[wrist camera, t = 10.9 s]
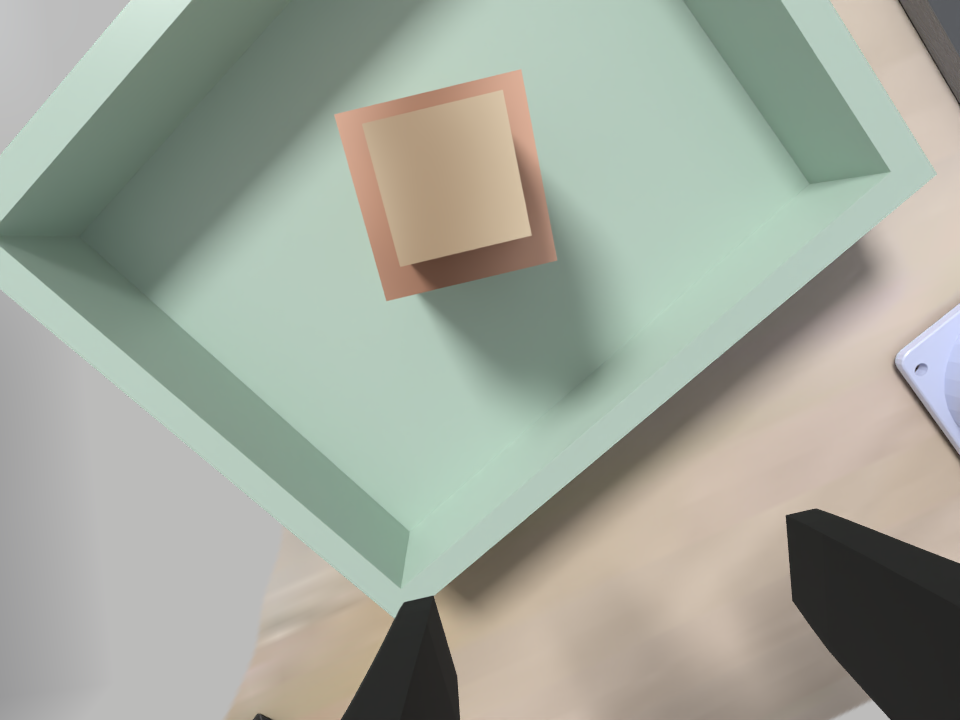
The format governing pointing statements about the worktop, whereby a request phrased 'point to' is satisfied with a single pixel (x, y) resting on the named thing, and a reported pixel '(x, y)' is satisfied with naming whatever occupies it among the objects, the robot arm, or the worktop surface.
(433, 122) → the square capped bottle
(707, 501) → the worktop surface
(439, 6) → the bin
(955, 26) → the base
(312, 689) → the worktop surface
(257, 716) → the ammunition clip
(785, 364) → the worktop surface
